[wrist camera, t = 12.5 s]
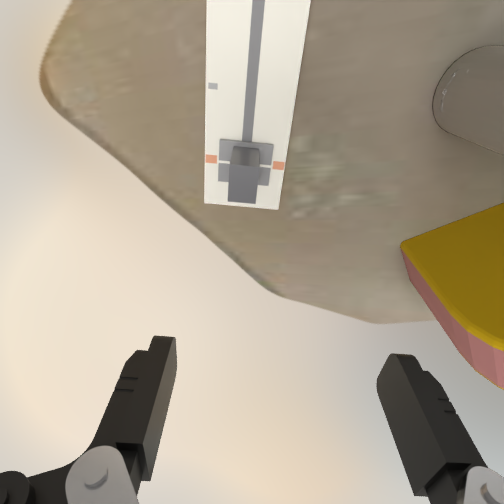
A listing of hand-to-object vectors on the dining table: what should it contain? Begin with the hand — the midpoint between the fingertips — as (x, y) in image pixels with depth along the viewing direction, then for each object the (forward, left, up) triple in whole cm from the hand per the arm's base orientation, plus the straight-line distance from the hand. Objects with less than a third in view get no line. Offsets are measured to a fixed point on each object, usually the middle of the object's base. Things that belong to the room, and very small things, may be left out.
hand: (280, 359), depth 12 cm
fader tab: (+2, +2, -30) cm, 31 cm away
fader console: (+2, -6, -33) cm, 34 cm away
